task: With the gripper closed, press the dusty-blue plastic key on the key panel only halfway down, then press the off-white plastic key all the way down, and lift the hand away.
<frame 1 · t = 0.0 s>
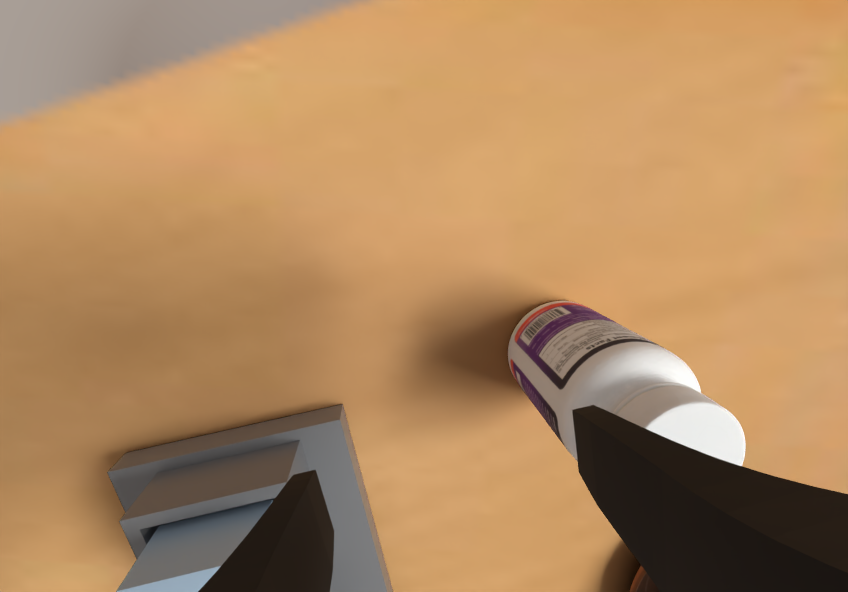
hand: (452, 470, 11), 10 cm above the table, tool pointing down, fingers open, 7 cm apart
blue key: (221, 587, 17), point 5 cm above the table, slide at 0.0 cm
pill bottle: (553, 345, 22), on the table
cup and saucer: (697, 569, 27), on the table
key panel: (284, 566, 23), on the table
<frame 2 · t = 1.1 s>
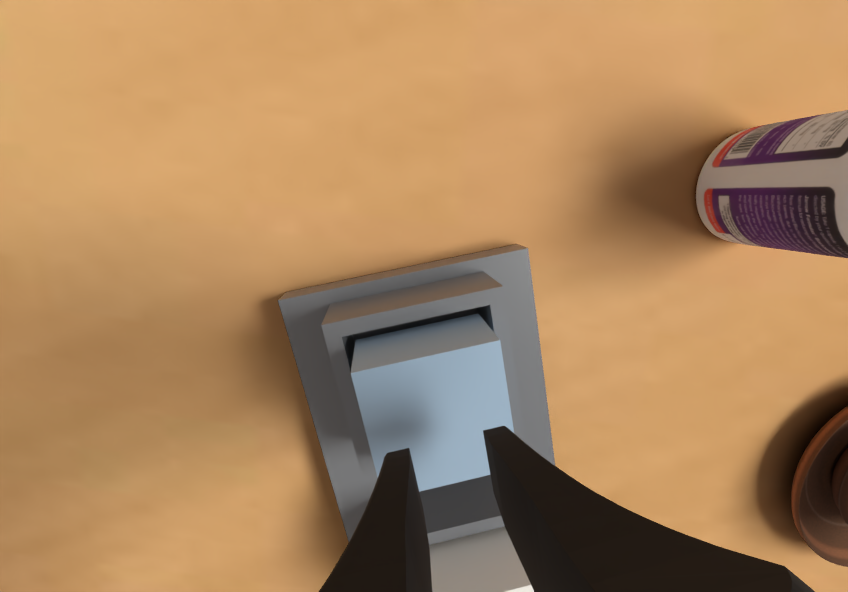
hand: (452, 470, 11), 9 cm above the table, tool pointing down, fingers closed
blue key: (433, 400, 15), point 5 cm above the table, slide at 0.0 cm
pill bottle: (740, 186, 20), on the table
key panel: (437, 434, 22), on the table
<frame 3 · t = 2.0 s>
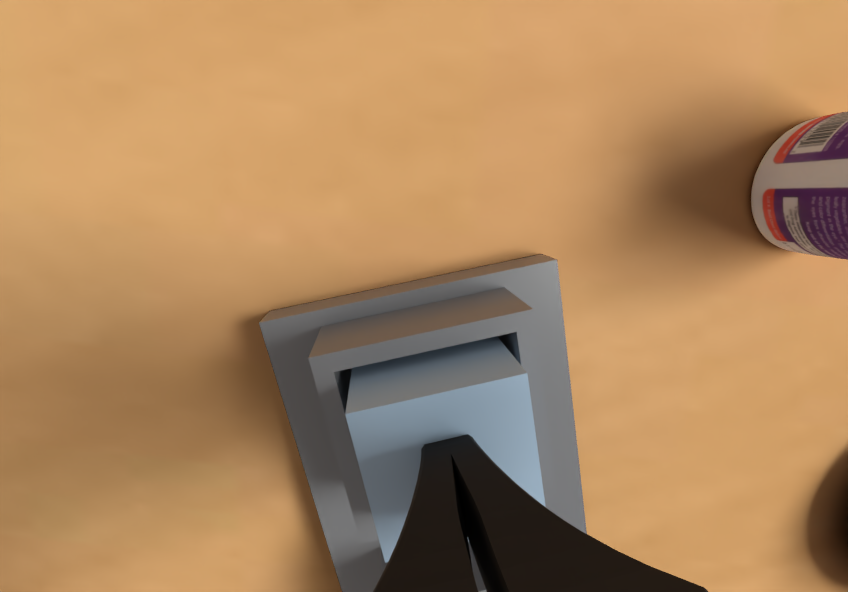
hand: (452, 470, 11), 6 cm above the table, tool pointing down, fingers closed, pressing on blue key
blue key: (444, 440, 13), point 5 cm above the table, slide at 0.6 cm, touching gripper
pill bottle: (801, 186, 17), on the table
key panel: (447, 472, 19), on the table
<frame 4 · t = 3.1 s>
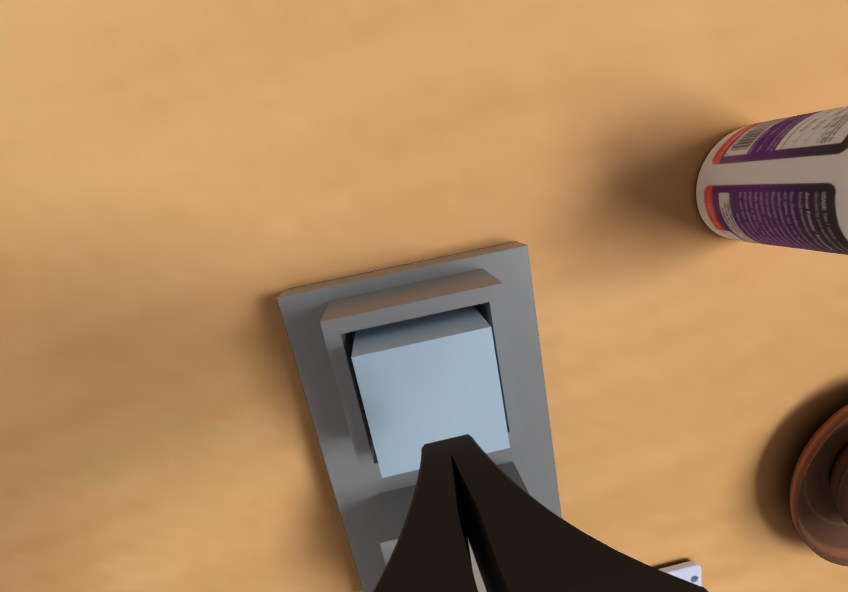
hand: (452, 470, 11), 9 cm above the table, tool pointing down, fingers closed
blue key: (429, 385, 16), point 4 cm above the table, slide at 1.0 cm
pill bottle: (740, 183, 20), on the table
key panel: (436, 432, 22), on the table
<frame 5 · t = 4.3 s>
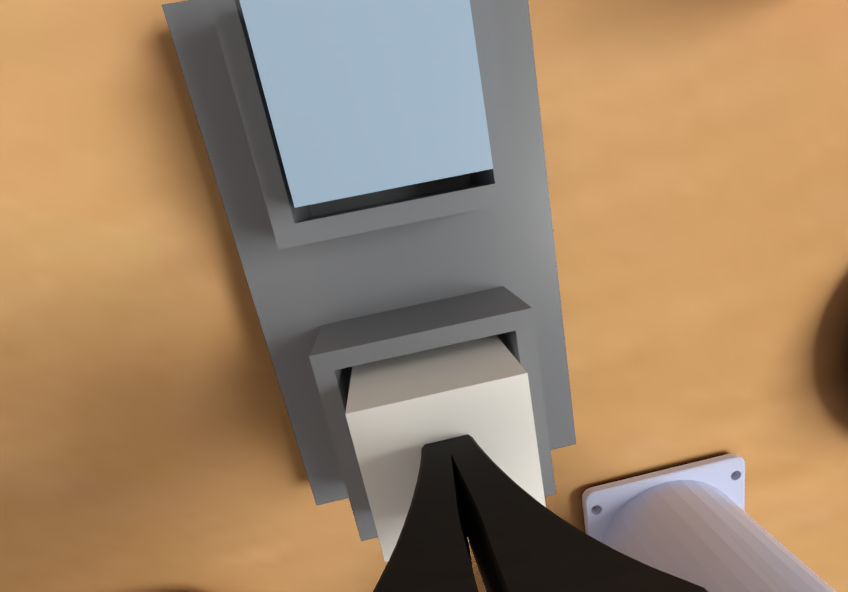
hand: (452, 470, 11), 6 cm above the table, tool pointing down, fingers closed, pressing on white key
blue key: (373, 93, 11), point 4 cm above the table, slide at 1.0 cm
white key: (444, 440, 13), point 5 cm above the table, slide at 0.5 cm, touching gripper
key panel: (402, 256, 16), on the table
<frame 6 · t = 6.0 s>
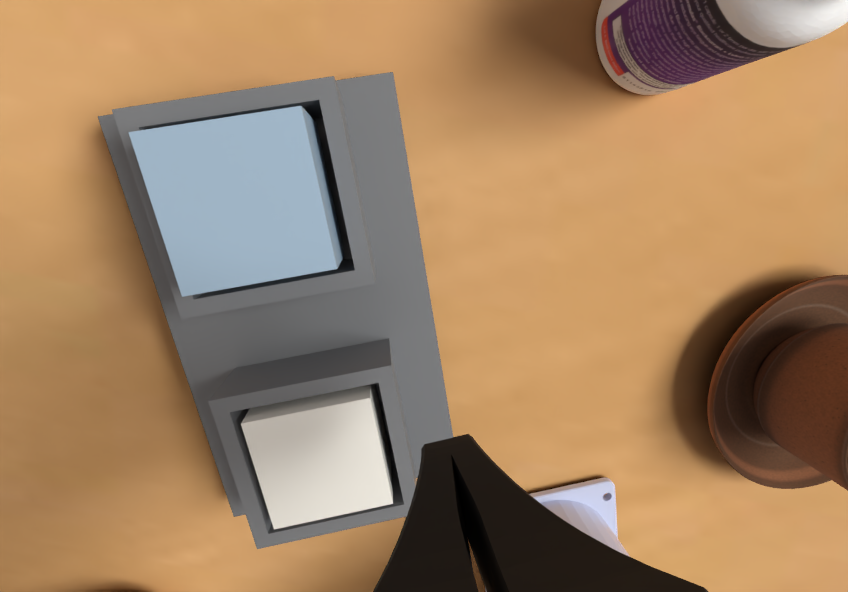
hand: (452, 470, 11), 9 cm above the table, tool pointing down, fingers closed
blue key: (253, 203, 14), point 4 cm above the table, slide at 1.0 cm
white key: (325, 442, 17), point 3 cm above the table, slide at 2.2 cm
pill bottle: (648, 31, 18), on the table
cup and saucer: (783, 372, 24), on the table
key panel: (310, 309, 19), on the table
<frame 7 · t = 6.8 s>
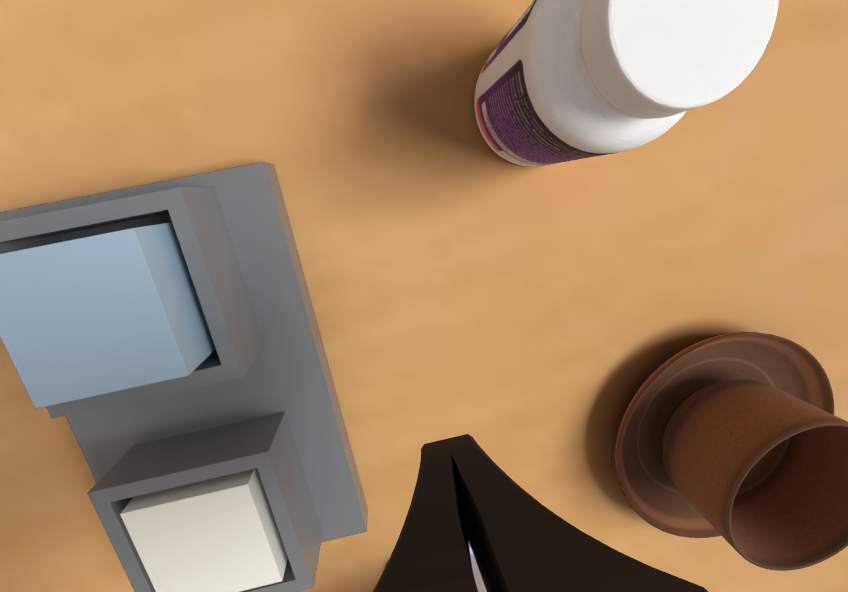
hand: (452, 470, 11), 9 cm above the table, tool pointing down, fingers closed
blue key: (113, 308, 14), point 4 cm above the table, slide at 1.0 cm
white key: (218, 520, 18), point 3 cm above the table, slide at 2.2 cm
pill bottle: (530, 103, 18), on the table
cup and saucer: (698, 420, 24), on the table
key panel: (211, 381, 20), on the table
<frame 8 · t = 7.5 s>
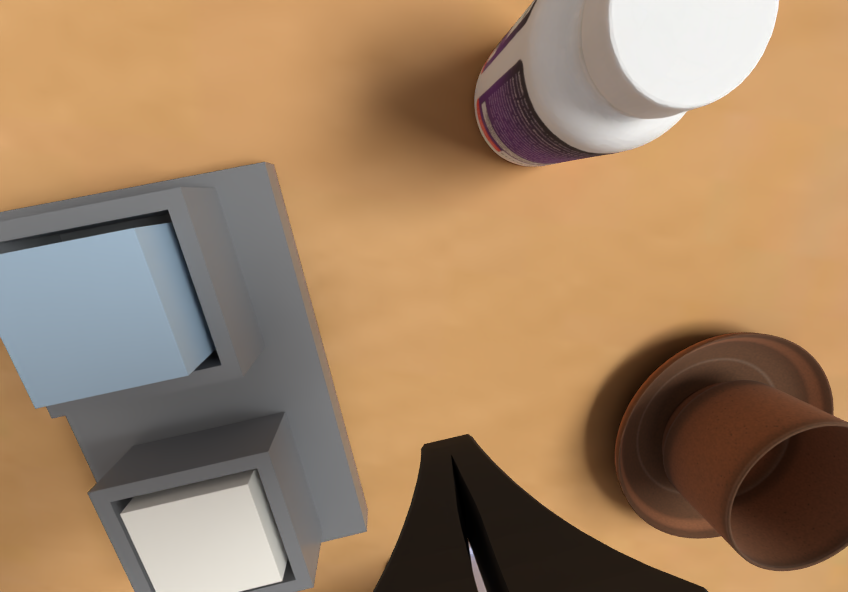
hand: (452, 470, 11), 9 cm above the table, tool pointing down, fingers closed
blue key: (113, 308, 14), point 4 cm above the table, slide at 1.0 cm
white key: (218, 520, 18), point 3 cm above the table, slide at 2.2 cm
pill bottle: (530, 103, 18), on the table
cup and saucer: (697, 421, 24), on the table
key panel: (211, 381, 20), on the table
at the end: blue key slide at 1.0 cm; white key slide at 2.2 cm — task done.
